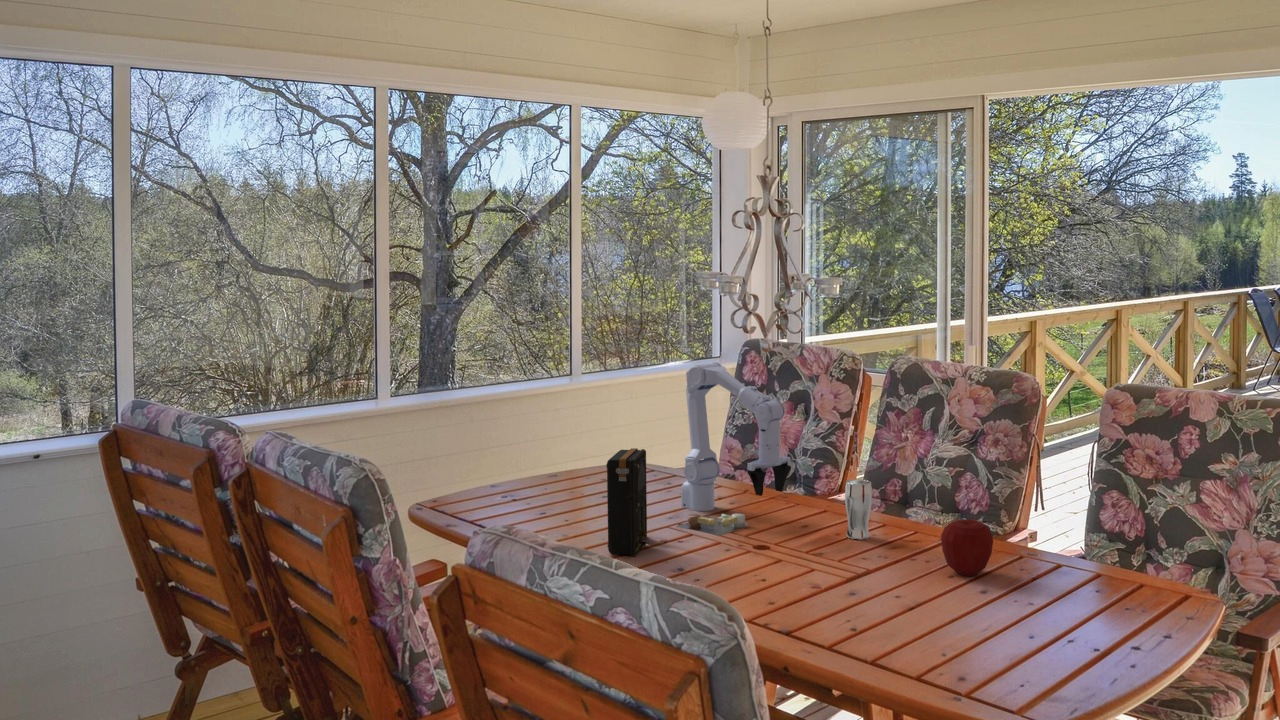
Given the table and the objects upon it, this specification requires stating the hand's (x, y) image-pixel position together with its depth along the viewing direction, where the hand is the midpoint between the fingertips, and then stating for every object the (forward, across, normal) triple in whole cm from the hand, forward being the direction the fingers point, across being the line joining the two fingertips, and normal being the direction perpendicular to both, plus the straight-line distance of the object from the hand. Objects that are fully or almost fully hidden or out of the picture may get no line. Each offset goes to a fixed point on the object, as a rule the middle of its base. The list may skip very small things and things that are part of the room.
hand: (769, 493), depth 282 cm
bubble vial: (+9, -8, +9) cm, 15 cm away
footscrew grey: (+9, -11, +3) cm, 14 cm away
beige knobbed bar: (+9, -17, +8) cm, 21 cm away
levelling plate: (+10, -13, +8) cm, 18 cm away
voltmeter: (+10, -42, +8) cm, 44 cm away
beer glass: (+10, +12, -22) cm, 27 cm away
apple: (+10, +8, -58) cm, 60 cm away
